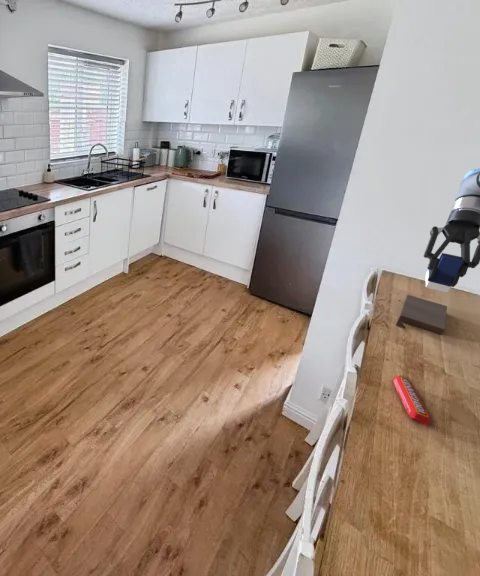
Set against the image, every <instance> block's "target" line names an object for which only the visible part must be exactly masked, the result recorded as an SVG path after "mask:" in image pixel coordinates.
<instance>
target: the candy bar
mask: <svg viewBox="0 0 480 576" xmlns="http://www.w3.org/2000/svg"><path fill="white" fill-rule="evenodd" d="M392 383H393V385H394V388H395V389H396V392H397V394H398V396H399V399H400V400H401V402H402V405H403V407H404V409H405V411H406V413H407V415H408V417H409V418H410V419H411V420H413V421H415V422H418V423H419V422H420V423H419V424H421V423H423V424H422V425H424V426H426V427H429V425H430V424H429V423H430V422H431V416H430V414H429V412H428V410H427V408H426V406H425V404H424V402H423V401H422V399H421V397H420V395H419V394H418V391H417V389H416V388H415V386H414V384H413V383H412V381H411V380H410V379H407V378H405V377H403V376H401V375H396V376H393V379H392Z"/></svg>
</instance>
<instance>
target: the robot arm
mask: <svg viewBox="0 0 480 576" xmlns="http://www.w3.org/2000/svg"><path fill="white" fill-rule="evenodd" d="M445 223H446V224H444V226H442V227H438V226H435V225H434V226H433V227H432V228H431V229H430V231H429V235H430V238H429V240H428V244H427V245H426V248H425V250H424V253H423V257H424V258H425V259H428V260H429V262H428V264H427V270H428V269H429V270H431V272H430V275H429V277H428V280H427V281H431V280H432V279H433V278H434V275H435V273H436V270H437V267H438V264H439V262H440V259H439V258H440V256H441V254H442V253H443V251H444V250H445V249H446V248H447V246H448V245H449V244H450V243H452V244H453V243H454V244H458V245H459V247H460V257H462V258H463V264H462V265H461V267H460V269H459V271H458V273H457V274H456V276H455V278H454V280H453V281H452V283H451V288H455V287H456V286H457V284H458V283H459V280H460V278H463V277H464V276H466V275H467V273H468V270H469V268H471V269H475V268H477V266H478V265H479V264H480V167H478V168H475V169H471V170H470V171H468V172H466V174H465V175H464V177H463V179H462V180H461V182H460V184H459V188H458V190H457V194H456V197H455V198H454V203H453V205H452V207H451V211H450V213H449V215H448V218H447V221H446V222H445ZM441 233H442V234H443V236H444V238H445V239H444V241H443V242H442V243H441V245H440V246H439V247H438V248H437V249H436V251H435V252H434V253H433V250H434V247H435V244H436V241H437V240H438V239H437V238H438V236H439V235H440V234H441ZM476 239H477V240H476ZM474 240H476V242H477V245H476V247H475V251H474V254H473V256H472V258H471V243H472V241H474ZM438 257H439V258H438Z"/></svg>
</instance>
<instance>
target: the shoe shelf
mask: <svg viewBox="0 0 480 576" xmlns="http://www.w3.org/2000/svg"><path fill="white" fill-rule="evenodd" d="M447 312H448V305H445V304H441V303H438V302H434V301H431V300H427V299H424V298H421V297H417V296H413V295H410V294H406V297H405V299H404V301H403V305H402V308H401V311H400V314H399V317H398V319H397V321H396V323H395V326H397V327H399V328H402V329H407V328H406V326H405V325H404V324H406V325H409V326H412V327H416V328H419V329H422V330H425V331H428V332H430V333H433V334H436V335H440V336H443V334H444V332H445V330H446V322H447V314H448V313H447Z"/></svg>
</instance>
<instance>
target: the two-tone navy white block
mask: <svg viewBox="0 0 480 576" xmlns="http://www.w3.org/2000/svg"><path fill="white" fill-rule="evenodd" d="M439 259H440V262H439V264H438V267H437V270H436V273H435V275H434V278H433V279H432V280H431V281H427V280H428V277H429V275H430V272H431V270H429V269H428V268H427V271H426V272H425V288H427V289H430V290H431V289H432V290H434V291H439V292H443V293H449V292H450V290H451V289H452V287H451V283H452V281H453V280H454V278H455V276H456V274H457V273H458V271H459V269H460V267H461V265H462V264H463V258H462V257H461V256H459V255H455V254H451V253H445V252H441V254H440V255H439Z"/></svg>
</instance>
